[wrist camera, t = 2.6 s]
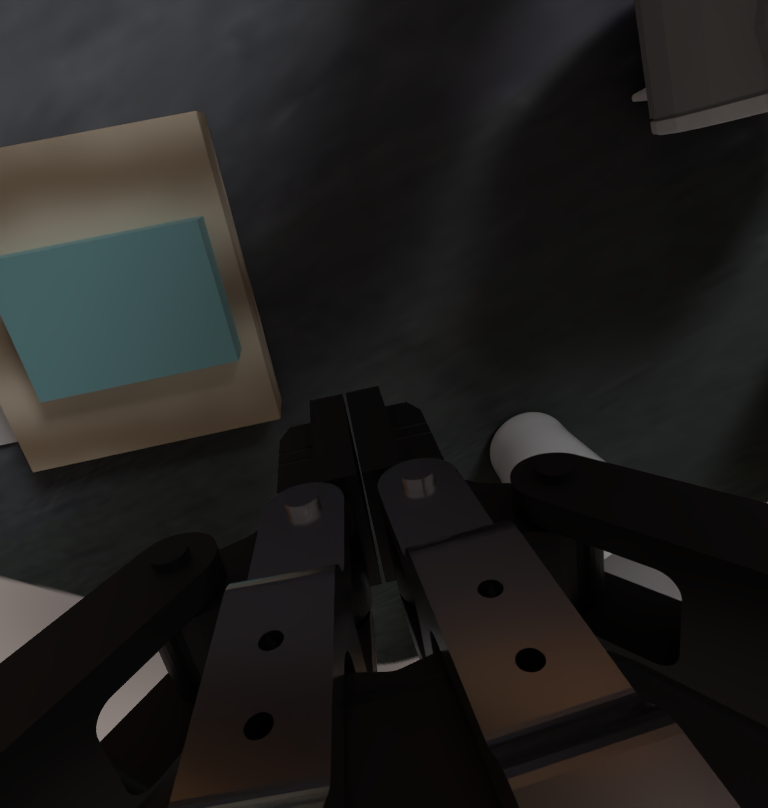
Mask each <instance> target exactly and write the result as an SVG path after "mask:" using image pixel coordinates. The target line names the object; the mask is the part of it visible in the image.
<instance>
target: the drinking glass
mask: <svg viewBox="0 0 768 808" xmlns="http://www.w3.org/2000/svg"><path fill="white" fill-rule="evenodd" d="M553 452H562V453H571V454H576V455H580V456H584V457H587V458H591V459H595V460H599V461H603V462H606V461H605V460H603V459H602V458H601V457H599V456H598V455H597V454H596V453H594V452H593V451H592V450H591V449H589V448H588V447H587V446H586V445H584V444H583V443H582V442H581V441H580V440H578V439H577V438H576V437H575V436H573V435H572V434H571V433H570V432H569V431H568V430H567V429H566V428H565V427H564V426H563V425H562V424H561V423H560V422H559V421H558V420H556V419H555V418H554V417H552V416H550V415H548V414H545V413H540V412H526V413H522V414H519V415H516V416H514V417H512V418H510V419H509V420H507V421H506V422H505V423H504V424H503V425H502V426H501V427H500V428H499V429H498V430H497V432H496V433H495V435H494V437H493V439H492V442H491V446H490V460H491V464H492V466H493V468H494V470H495V472H496V474H497V475H498V477H499V479H500V480H501V482H502V483H511V482H510V474H511V471H512V469H513V468H514V467H515V466H516V465H517V464H518V463H519V462H521V461H522V460H524V459H526V458H529V457H531V456H534V455H538V454H543V453H553ZM604 571H605V572H608V573H610V574H613V575H615V576H618V577H621V578H623V579H626V580H628V581H631V582H633V583H636V584H639V585H641V586H644V587H646V588H649V589H652V590H654V591H657V592H659V593H662V594H665V595H667V596H670V597H672V598H675V599H678V600H680V601H682V597H681V593H680V591H679V589H678V587H677V586H676V584H675V583H674V582H673V581H672V580H671V579H670V578H669V577H668V576H666V575H665V574H663V573H662V572H660V571H658V570H656V569H653V568H650V567H648V566H645V565H642V564H639V563H637V562H634V561H631V560H628V559H626V558H623V557H620V556H617V555H615V554H612V553H609V552H606V551H604Z"/></svg>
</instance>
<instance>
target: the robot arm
mask: <svg viewBox="0 0 768 808" xmlns="http://www.w3.org/2000/svg"><path fill="white" fill-rule="evenodd" d="M346 397H347V402H348V407H349V412H350V417H351V422H352V427H353V432H354V437H355V442H356V446H357V451H358V456H359V461H360V466H361V471H362V476H363V481H364V485H365V490H366V494H367V499H368V503H369V508H370V512H371V517H372V521H373V526H374V530H375V535H376V539H377V544H378V548H379V553H380V557H381V562H382V566H383V571H384V575H385V580H386V582H391V581H395V580H397V583H398V587H399V591H400V596H401V601H402V605H403V610H404V615H405V618H406V621H407V624H408V627H409V630H410V633H411V636H412V639H413V642H414V645H415V647H416V650H417V653H418V656H419V659H420V660H418V661H416V662H414V663H413V664H410V665H408V666H406V667H404V668H401V669H399V670H396V671H390V672H377V659H376V643H375V627H374V619H373V614H372V610H371V605H372V593H371V587H370V586H374V585H379V584H382V582H381V577H380V571H379V566H378V561H377V556H376V551H375V546H374V541H373V536H372V531H371V526H370V520H369V515H368V510H367V505H366V500H365V495H364V490H363V485H362V480H361V475H360V470H359V466H358V461H357V457H356V452H355V448H354V443H353V439H352V434H351V430H350V425H349V421H348V416H347V412H346V407H345V403H344V399H343V395H342V394H339V395H335V396H330V397H325V398H321V399H316V400H311V401H310V417H311V423H308V424H304V425H299V426H295V427H290V428H289V430H288V431H287V432H286V433H285V435H284V436H283V437H282V439H281V440H280V447H279V455H280V456H279V466H278V484H277V495H276V496H274V497H273V498H272V499H271V500H270V501H269V502H268V503H267V504H266V505H265V507H264V508H263V511H262V514H261V519H260V524H259V528H258V531H257V532H255V533H254V534H252V535H250V536H249V537H247V538H245V539H243V540H240V541H238V542H236V543H234V544H231V545H229V546H227V547H224V548H222V549H220V550H219V549H218V547H217V544H216V541H215V540H214V539H213V538H212V537H211V536H209V535H207V534H204V533H197V532H191V533H183V534H178V535H175V536H171V537H168V538H166V539H163V540H161V541H159V542H157V543H155V544H153V545H152V546H150V547H148V548H147V549H146V550H144V551H143V552H142V553H140V554H139V555H138V556H136V557H135V558H134V559H133V560H131V561H130V562H129V563H128V564H126V565H125V566H124V567H122V568H121V569H120V570H119V571H117V572H116V573H115V574H114V575H112V576H111V577H110V578H108V579H107V580H106V581H105V582H103V583H102V584H101V585H99V586H98V587H97V588H96V589H94V590H93V591H92V592H91V593H89V594H88V595H87V596H85V597H84V598H83V599H82V600H80V601H79V602H78V603H77V604H75V605H74V606H73V607H71V608H70V609H69V610H68V611H66V612H65V613H64V614H63V615H61V616H60V617H59V618H58V619H56V620H55V621H54V622H52V623H51V624H50V625H49V626H47V627H46V628H45V629H43V630H42V631H41V632H40V633H38V634H37V635H36V636H34V637H33V638H32V639H31V640H29V641H28V642H27V643H26V644H25V645H23V646H22V647H20V648H19V649H18V650H17V651H15V652H14V653H13V654H12V655H10V656H9V657H8V658H6V659H5V660H4V661H3V662H1V663H0V808H768V504H767V503H763V502H759V501H755V500H752V499H748V498H744V497H740V496H736V495H732V494H728V493H724V492H720V491H716V490H712V489H709V488H705V487H701V486H697V485H693V484H689V483H685V482H681V481H677V480H673V479H670V478H666V477H662V476H658V475H654V474H650V473H646V472H642V471H638V470H634V469H630V468H627V467H623V466H619V465H615V464H611V463H607V462H603V461H599V460H595V459H591V458H587V457H584V456H580V455H576V454H571V453H562V452H553V453H543V454H538V455H534V456H531V457H529V458H526V459H524V460H522V461H521V462H519V463H518V464H517V465H516V466H515V467H514V468H513V469H512V471H511V474H510V482H511V483H477V482H471V481H468V480H465V479H464V478H463V476H462V475H461V473H460V472H459V470H458V469H457V468H456V467H455V466H454V465H453V464H452V463H450V462H448V461H445V460H444V459H443V456H442V454H441V452H440V450H439V448H438V446H437V444H436V442H435V439H434V437H433V435H432V433H431V432H430V429H429V427H428V425H427V423H426V420H425V418H424V416H423V414H422V412H421V410H420V409H418V408H416V407H415V406H413V405H411V404H409V403H407V402H404V403H400V404H395V405H391V406H386V407H385V405H384V402H383V399H382V396H381V393H380V390H379V387H378V386H376V387H371V388H367V389H362V390H357V391H353V392H348V393H346ZM604 551H606V552H609V553H612V554H615V555H617V556H620V557H623V558H626V559H628V560H631V561H634V562H637V563H639V564H642V565H645V566H648V567H650V568H653V569H656V570H658V571H660V572H662V573H663V574H665V575H666V576H668V577H669V578H670V579H671V580H672V581H673V582H674V583H675V584H676V586H677V587H678V589H679V591H680V593H681V597H682V601H680V600H678V599H675V598H672V597H670V596H667V595H665V594H662V593H659V592H657V591H654V590H652V589H649V588H646V587H644V586H641V585H639V584H636V583H633V582H631V581H628V580H626V579H623V578H621V577H618V576H615V575H613V574H610V573H608V572H605V571H604ZM158 651H159V653H160V655H161V657H162V660H163V662H164V664H165V666H166V669H167V671H168V674H167V675H166V676H165V677H164V678H163V679H162V680H161V681H160V682H159V683H158V684H157V685H156V686H155V687H154V688H153V689H152V690H151V691H150V692H149V693H148V694H147V695H146V696H145V697H144V698H143V699H142V700H141V701H140V702H139V703H138V704H137V705H136V706H135V707H134V708H133V709H132V710H131V711H130V712H129V713H128V714H127V715H126V716H125V717H124V718H123V719H122V720H121V721H120V722H119V723H118V724H117V725H116V726H115V727H114V728H113V729H112V730H111V731H110V732H109V733H108V734H107V736H106V737H104V739H103V740H102V741H101V742H99V740H98V738H97V734H96V724H97V720H98V716H99V714H100V712H101V710H102V708H103V706H104V705H105V703H106V702H107V701H108V699H109V698H110V697H111V696H112V695H113V694H114V693H115V692H116V691H117V690H118V689H120V688H121V687H122V685H124V684H125V683H126V682H127V681H128V680H129V679H130V678H131V677H132V676H133V675H134V674H135V673H136V672H137V671H138V670H139V669H140V668H141V667H142V666H143V665H144V664H145V663H146V662H148V661H149V659H150V658H152V657H153V656H154V655H155V654H156V653H157V652H158Z"/></svg>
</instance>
